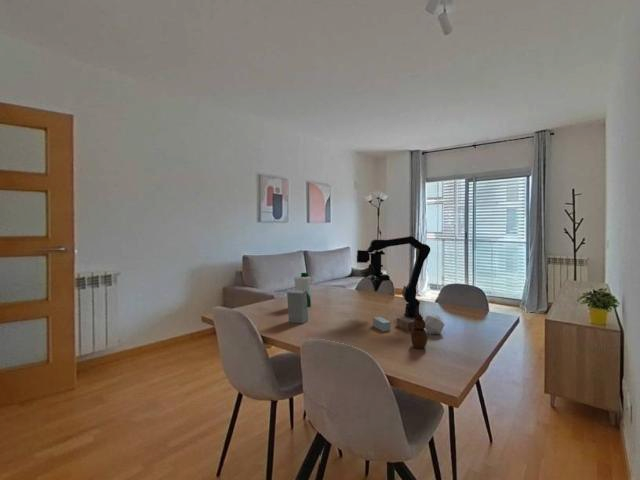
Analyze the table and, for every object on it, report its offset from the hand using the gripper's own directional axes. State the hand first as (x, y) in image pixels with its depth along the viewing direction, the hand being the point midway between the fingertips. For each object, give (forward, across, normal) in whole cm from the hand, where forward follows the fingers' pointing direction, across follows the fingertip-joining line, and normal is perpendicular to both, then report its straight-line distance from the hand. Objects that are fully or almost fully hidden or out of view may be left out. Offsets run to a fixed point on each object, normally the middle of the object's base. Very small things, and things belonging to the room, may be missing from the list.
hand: (375, 291), depth 185 cm
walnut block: (+11, +20, +2) cm, 23 cm away
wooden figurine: (+13, +48, -8) cm, 50 cm away
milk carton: (+13, -33, -31) cm, 47 cm away
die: (+13, +36, +9) cm, 39 cm away
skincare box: (+13, -4, -43) cm, 45 cm away
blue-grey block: (+11, +16, -9) cm, 21 cm away
